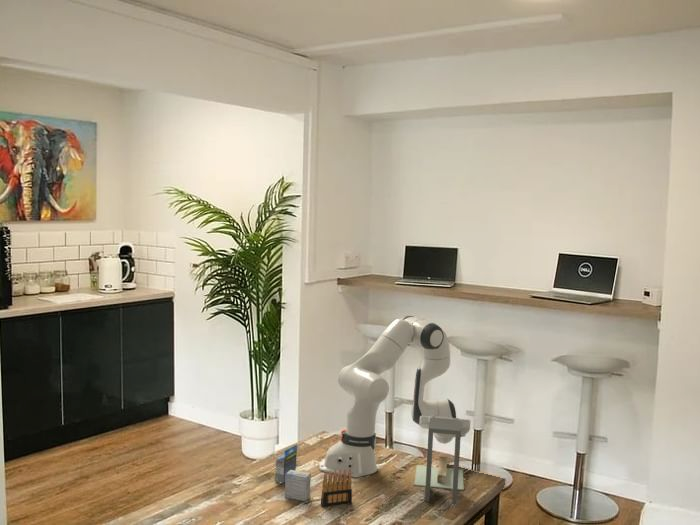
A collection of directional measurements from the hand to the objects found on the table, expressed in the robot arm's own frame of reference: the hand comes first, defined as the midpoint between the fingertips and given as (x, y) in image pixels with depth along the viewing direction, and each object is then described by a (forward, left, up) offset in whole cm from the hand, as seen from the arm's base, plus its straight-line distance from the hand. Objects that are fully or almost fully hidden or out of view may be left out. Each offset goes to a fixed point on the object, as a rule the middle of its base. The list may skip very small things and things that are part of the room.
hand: (445, 419), depth 267 cm
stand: (0, -27, -20) cm, 33 cm away
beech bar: (0, -6, -20) cm, 20 cm away
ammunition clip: (-35, -43, -20) cm, 59 cm away
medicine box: (-49, -41, -20) cm, 67 cm away
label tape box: (-57, -26, -20) cm, 66 cm away
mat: (-1, -10, -20) cm, 22 cm away
